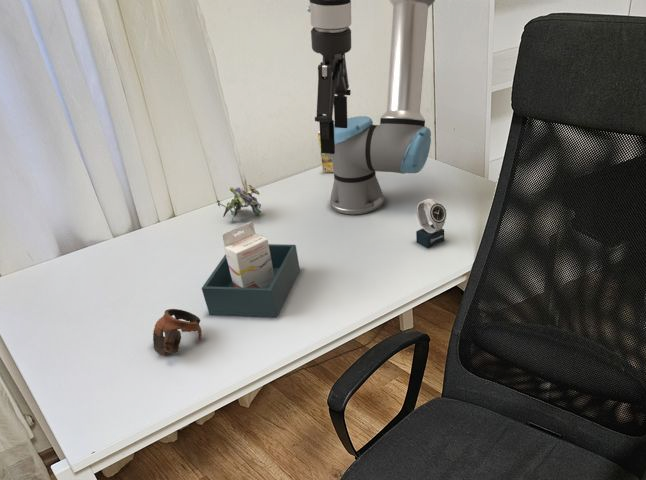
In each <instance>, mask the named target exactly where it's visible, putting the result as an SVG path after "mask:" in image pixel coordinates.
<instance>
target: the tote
mask: <svg viewBox="0 0 646 480" xmlns="http://www.w3.org/2000/svg"><path fill="white" fill-rule="evenodd" d="M268 245H269V250H270V255H271V260H272V266H273V271H274V276H275V278H274V279H273V281H272V283H271V285H270V287H269V288H241V287H234V286H233V282H232V278H231V274H230V270H229V265H228V262H227V257H226V253H225V254H224V256H223V257H222V258H221V260H220V261H219V263H218V264H217V266H216V267H215V268H214V270H213V271H212V272H211V274H210V275H209V277H208V278H207V279H206V281H205V283H204V284H203V285H202V287H201V291H202V294H203V298H204V301H205V305H206V308H207V311H208V315H209V316H227V317H249V318H251V317H252V318H253V317H254V318H278V316H279V314H280V312H281V310H282V308H283V307H284V304H285V302H286V300H287V297H288V296H289V294H290V292H291V290H292V288H293V286H294V283H295V281H296V279H297V277H298V276H299V273H300V271H301V268H300V267H301V266H300V262H299V256H298V249H297V245H296V244H284V243H283V244H280V243H279V244H278V243H276V244H275V243H273V244H272V243H268Z"/></svg>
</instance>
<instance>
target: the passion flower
mask: <svg viewBox="0 0 646 480" xmlns="http://www.w3.org/2000/svg"><path fill="white" fill-rule="evenodd" d="M248 189H249V191H250V192H248V191H247V190H246V189H244V188H242V187H241V188H240V187H239V186H238V187H237V186H236V187H235V188H234V187H232V186H229V191H230V192H231V193H232V194H233V198H232V199H231V201H230V202H229V201H228V202H227V203H226V205H224V204H222V203H221V201H220V200H216V203H217V206H218V207H221V206H222V207H224V208H225V209H224V213H223V216H222V217H223V218H225V217H226V215H227V214H228V212H229V211H230V213H231V222H233V221H234V218H236V216H237V215H238V212H239V211H241V209H242V208H247V207H249V206H250V207H251V210H252V212H253V214H255V216H257V217H261V215H262V210H261V207H262V204H261V203H260V202H259V201H258V198H257V197H256V196H254V195H253V194H255V195H258V196H259V195H260V192H259V190H257V189H256V188H254V187H253V186H252V185H251V184H248Z"/></svg>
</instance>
